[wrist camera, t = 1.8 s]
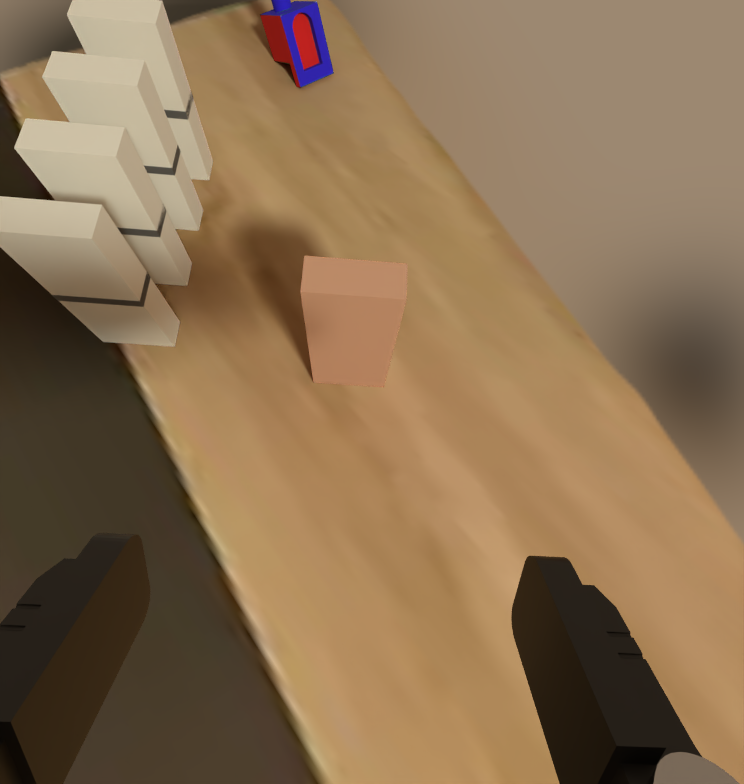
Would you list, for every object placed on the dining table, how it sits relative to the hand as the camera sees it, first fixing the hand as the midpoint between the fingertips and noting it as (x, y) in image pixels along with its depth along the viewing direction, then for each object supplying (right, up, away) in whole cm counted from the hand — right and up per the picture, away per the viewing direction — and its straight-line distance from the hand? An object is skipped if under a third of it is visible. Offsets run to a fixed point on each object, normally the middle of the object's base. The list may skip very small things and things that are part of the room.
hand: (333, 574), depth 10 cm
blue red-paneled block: (-6, +34, +34) cm, 49 cm away
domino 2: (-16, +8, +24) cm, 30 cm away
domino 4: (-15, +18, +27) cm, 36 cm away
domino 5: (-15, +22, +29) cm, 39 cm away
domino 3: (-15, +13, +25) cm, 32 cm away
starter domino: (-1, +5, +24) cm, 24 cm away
